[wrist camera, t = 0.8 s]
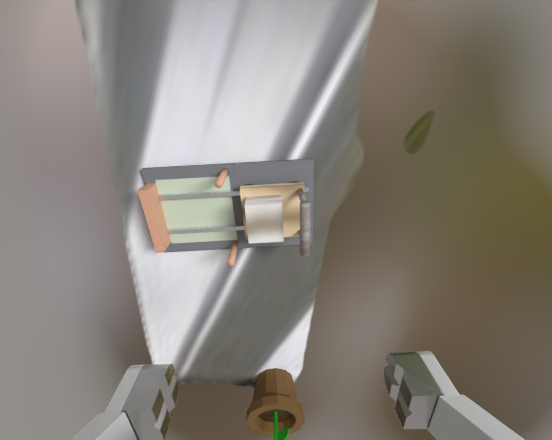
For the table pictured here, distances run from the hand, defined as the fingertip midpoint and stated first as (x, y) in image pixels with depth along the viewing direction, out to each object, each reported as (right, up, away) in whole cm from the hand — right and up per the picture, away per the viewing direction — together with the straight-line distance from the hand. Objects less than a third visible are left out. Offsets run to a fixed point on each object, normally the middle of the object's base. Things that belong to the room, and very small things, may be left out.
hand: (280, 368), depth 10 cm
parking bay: (-15, +7, +39) cm, 43 cm away
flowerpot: (-1, -39, +64) cm, 75 cm away
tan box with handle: (-1, +8, +39) cm, 40 cm away
